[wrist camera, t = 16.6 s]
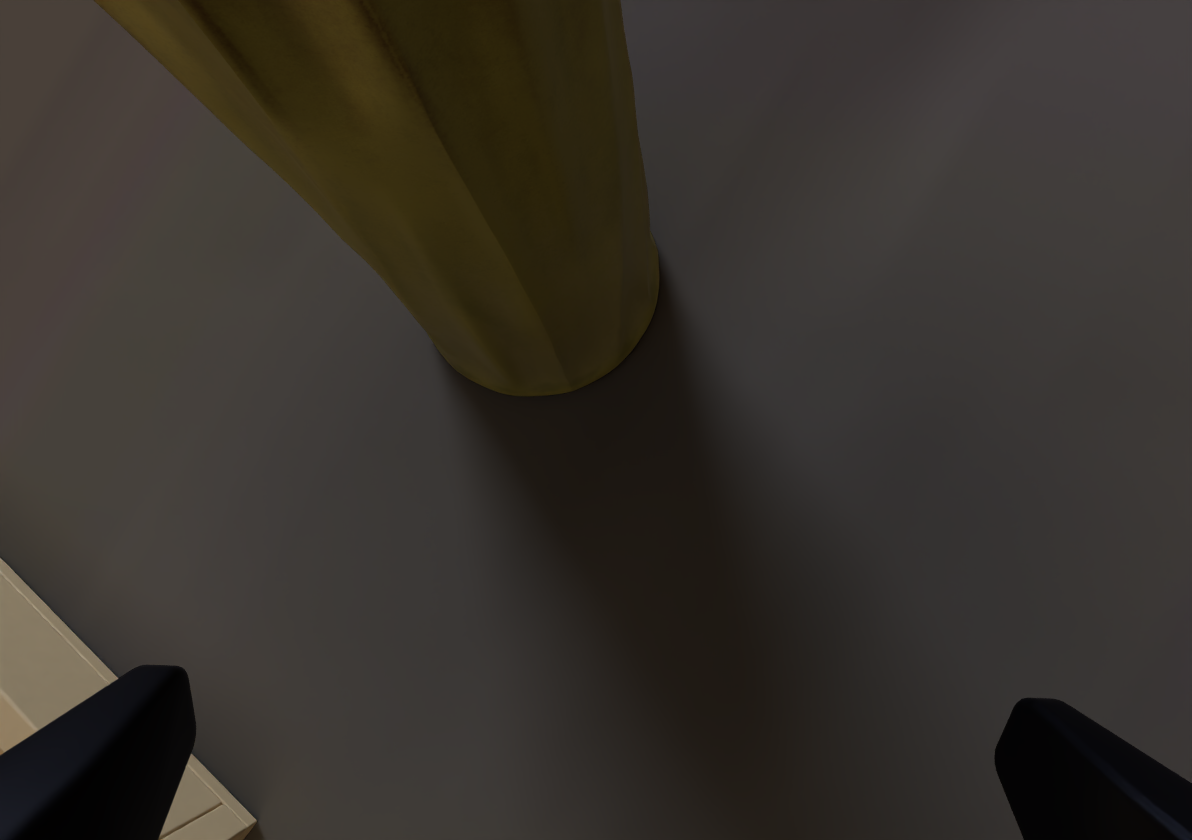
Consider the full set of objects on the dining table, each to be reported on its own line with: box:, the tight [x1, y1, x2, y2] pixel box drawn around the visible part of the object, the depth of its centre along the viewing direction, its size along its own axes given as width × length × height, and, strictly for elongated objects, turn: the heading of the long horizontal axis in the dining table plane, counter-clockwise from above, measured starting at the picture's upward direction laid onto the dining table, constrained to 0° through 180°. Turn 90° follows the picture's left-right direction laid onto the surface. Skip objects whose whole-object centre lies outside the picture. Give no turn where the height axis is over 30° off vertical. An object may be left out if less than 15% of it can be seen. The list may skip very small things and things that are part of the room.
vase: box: [94, 0, 659, 397], centre depth 11 cm, size 6×6×14 cm
